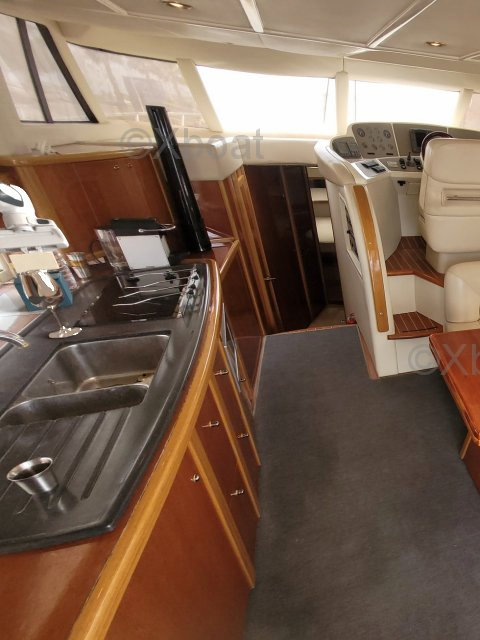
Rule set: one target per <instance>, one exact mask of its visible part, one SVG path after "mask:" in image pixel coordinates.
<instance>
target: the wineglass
mask: <svg viewBox="0 0 480 640" xmlns="http://www.w3.org/2000/svg"><path fill="white" fill-rule="evenodd" d="M48 272H49V271H48V270H42V269H38V270H29V271H24V272H21V273H19V275H20V278H21V283H22V287H23V290H24V293H25V296H26V298H27V299H28V301H29V302H30V303H32V304H33V305H35V306H37V307H40V308H44V309H43V310H50V312H51V313H52V314H53V316H54V317H55V319H56V321H57V323H58V325H59V327H60V329H56V330H53V331H51V332H50V333H49V334H48V338H50V339H64V338H65V339H66V338H69V337H73V336H75V335H78V334H80V333H81V332H82V328H80V327H77V326H76V327H72V326H71V327H65V326H64V324H63V322H62V321H61V319H60V316H59V315H58V313H57V308H59V307H58V306H60V305H61V304H62V303H63V301H64V293H63V291H62V289H61V288H60V286H59V285H58V284H57V283H56V281H55V280H54V279H53V278H52V276H51V275H50V274H49V273H48Z"/></svg>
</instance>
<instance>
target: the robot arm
mask: <svg viewBox="0 0 480 640" xmlns="http://www.w3.org/2000/svg"><path fill="white" fill-rule="evenodd" d="M7 184H8V183H5V182H3V181H0V213H1V214H2V221H3V223H4V226H5V227H0V254H11V253H12V254H13V253H22V254H27V253H30V252H33V251H36V253H38V252H44V251H48V250H58V249H67V248H69V246H70V244H69V242H68V240H67V238H66V237H65V235H64V233H63V232H62V230H61V229H60V228H59V227H58V225H57V224H56V222H55V221H54V220H52V219H47V218H40V217H37V216H36V210H35V207H34V205H33V202H32V201H31V199H30V197H29V195H28V194H27V193H26V192H25V190H24V189H22V188H20V187H19V186H17V185H14V184H10V186H9V185H7Z"/></svg>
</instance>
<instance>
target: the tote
mask: <svg viewBox="0 0 480 640" xmlns="http://www.w3.org/2000/svg"><path fill="white" fill-rule="evenodd" d="M47 272H48V273H49V274H50V275H51V276H52V278H53V279H54V280H55V281H56V283H57V284H58V285H59V286H60V288H61V289H62V291H63V293H64V301H63V303H62V304H61V305H60V306H58V307H57V308H62V307H68V306H73V293H72V294H71V292H72V290H71V288H70V286H69V284H68V282H67V280H66V279H65V277H64V274H63V272H62V271H61V270H53V271H52V270H50V271H47ZM12 283H13V285H14V287H15V289H16V291H17V293H18V295H19V297H20V298H21V300H22V302H23V304H24V305H25V307H26V309H27V311H28V312H36V311H41V310H42V311H43V310H45V309H44V308H40V307H37V306H35V305H33V304H32V303H30V302H29V301H28V299H27V298H26V296H25V293H24V290H23V287H22V283H21V278H20V274H18V275H17V277H14V280H13V282H12Z"/></svg>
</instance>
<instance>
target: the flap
mask: <svg viewBox="0 0 480 640" xmlns="http://www.w3.org/2000/svg"><path fill="white" fill-rule="evenodd" d="M8 258H9V260H10V262H11V264H12V266H13V268H14V270H15V272H16V274H20V273H21V272H24V271H29V270H38V269H42V270H46V271H52V270H59V269H60V266H59V264H58V262H57V259H56V257H55V254H54V252H53V251H51V250H50V251H43V252H38V253H37V252H29V253H27V254H24V253H16V254H15V253H14V254H8Z"/></svg>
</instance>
